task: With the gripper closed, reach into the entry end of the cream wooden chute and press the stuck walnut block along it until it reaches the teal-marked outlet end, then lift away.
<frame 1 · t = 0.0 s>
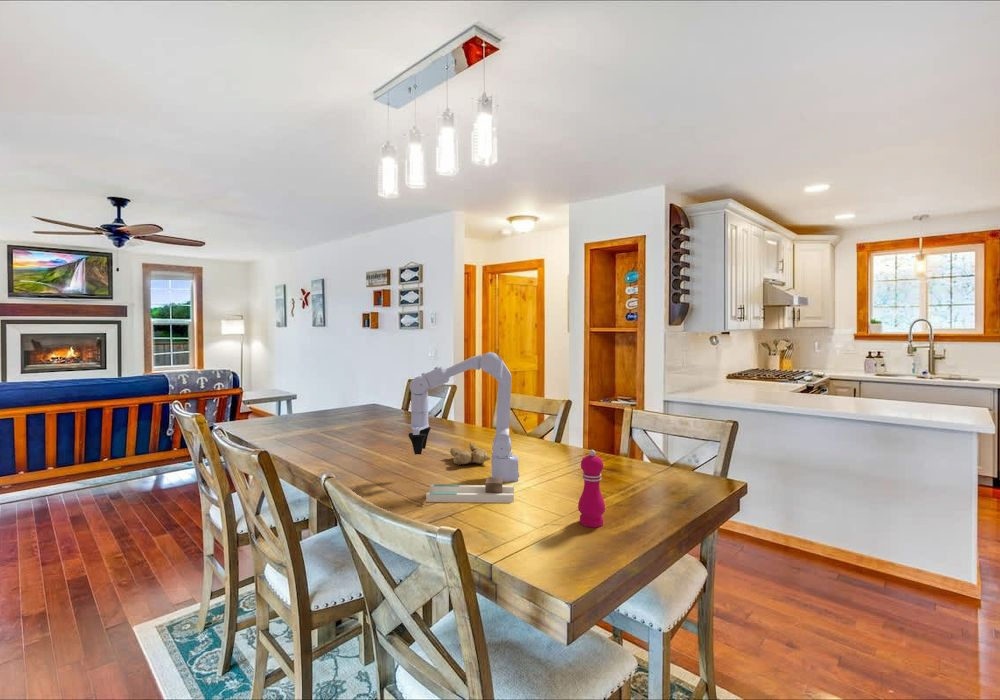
hand: (420, 451, 172), 10 cm above the table, tool pointing down, fingers open, 7 cm apart
ginger root: (469, 463, 194), on the table
walnut block: (494, 488, 154), point 3 cm above the table, slide at 0.0 cm
pepper mill: (591, 523, 136), on the table
chute: (471, 499, 154), on the table
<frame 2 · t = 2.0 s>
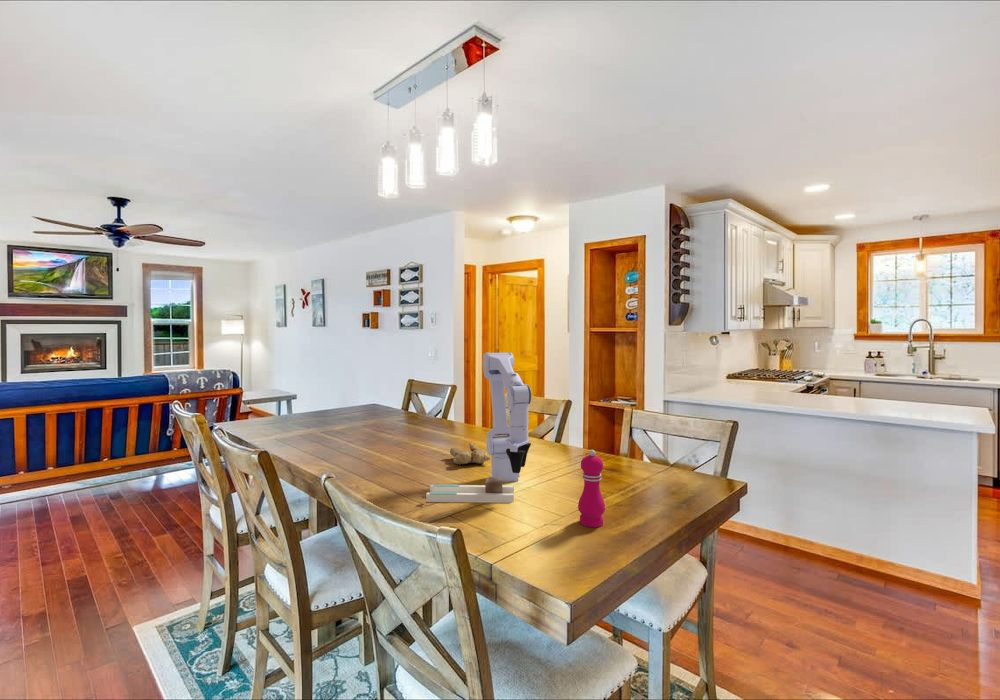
hand: (518, 469, 153), 9 cm above the table, tool pointing down, fingers open, 6 cm apart
nothing on the table moved.
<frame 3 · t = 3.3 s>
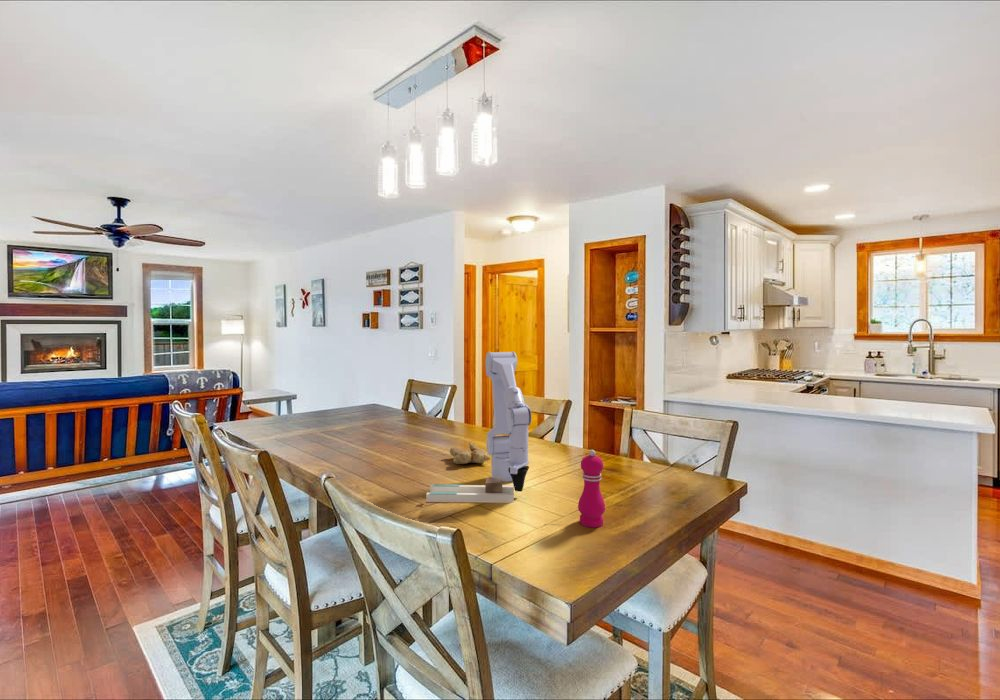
hand: (518, 490, 153), 3 cm above the table, tool pointing down, fingers closed
nothing on the table moved.
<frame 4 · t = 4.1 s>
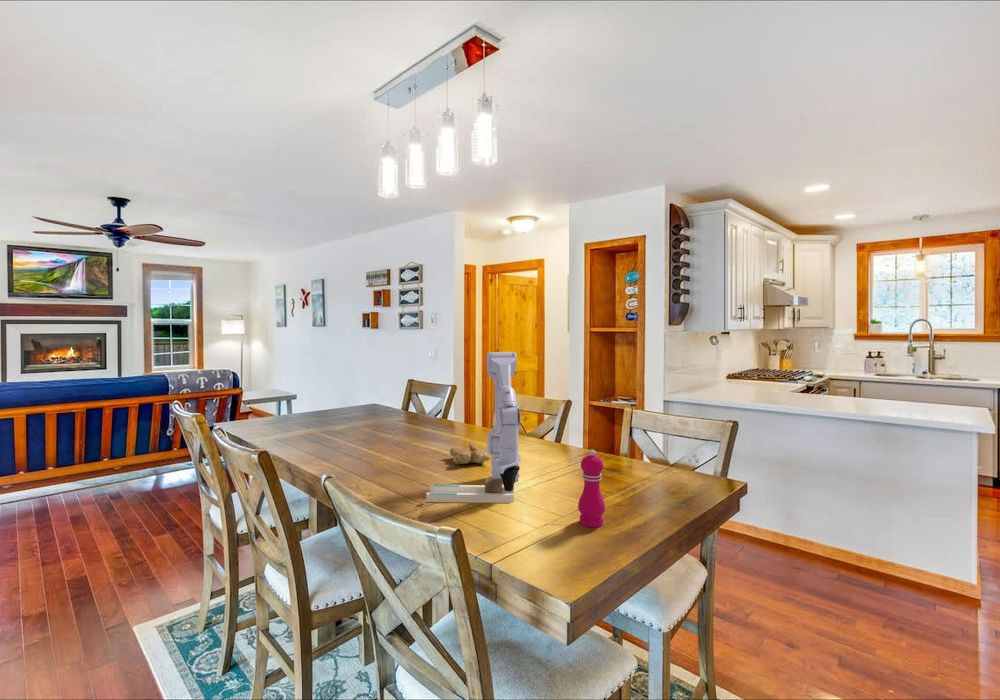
hand: (508, 490, 153), 3 cm above the table, tool pointing down, fingers closed
walnut block: (493, 488, 154), point 3 cm above the table, slide at 0.2 cm, touching gripper
everything else where it was.
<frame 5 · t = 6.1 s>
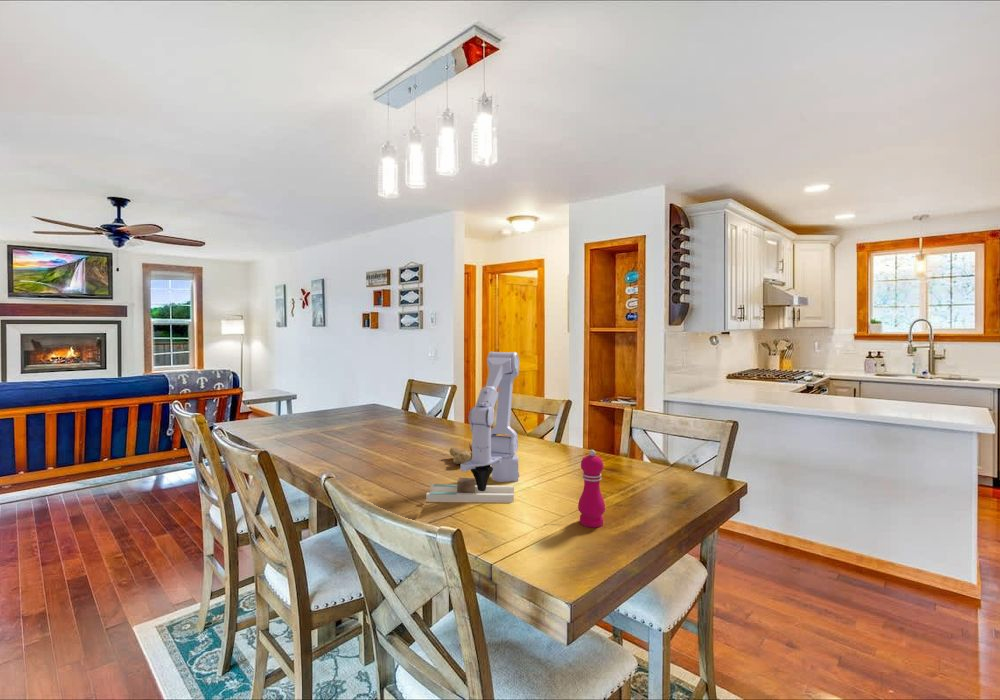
hand: (481, 490, 154), 3 cm above the table, tool pointing down, fingers closed
walnut block: (466, 488, 154), point 3 cm above the table, slide at 8.5 cm, touching gripper
everything else where it was.
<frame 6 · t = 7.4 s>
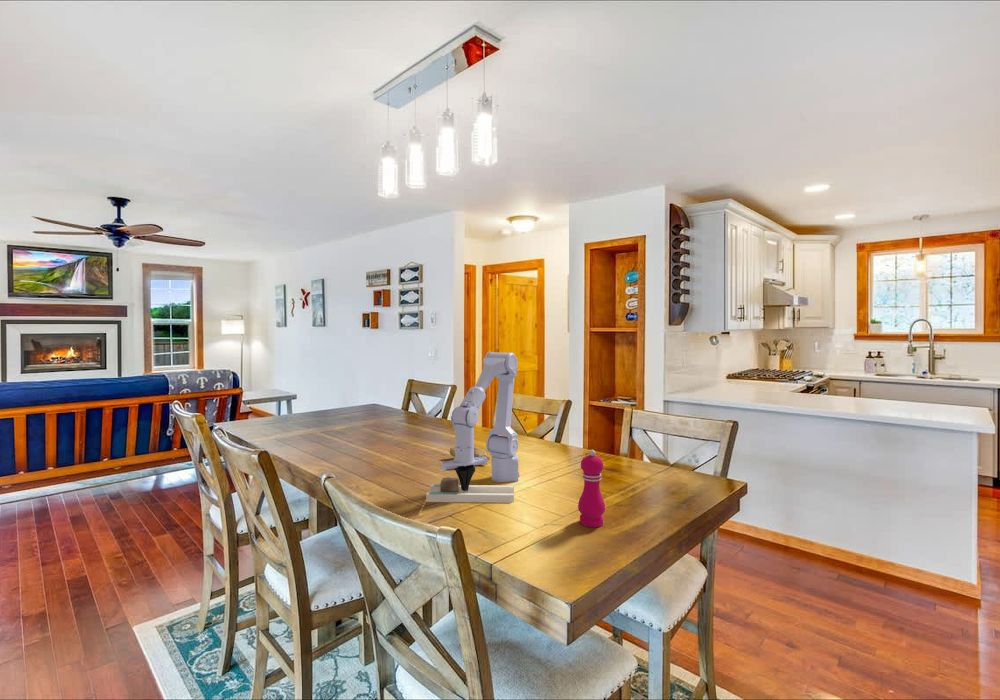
hand: (464, 490, 154), 3 cm above the table, tool pointing down, fingers closed
walnut block: (449, 488, 154), point 3 cm above the table, slide at 13.5 cm, touching gripper
everything else where it was.
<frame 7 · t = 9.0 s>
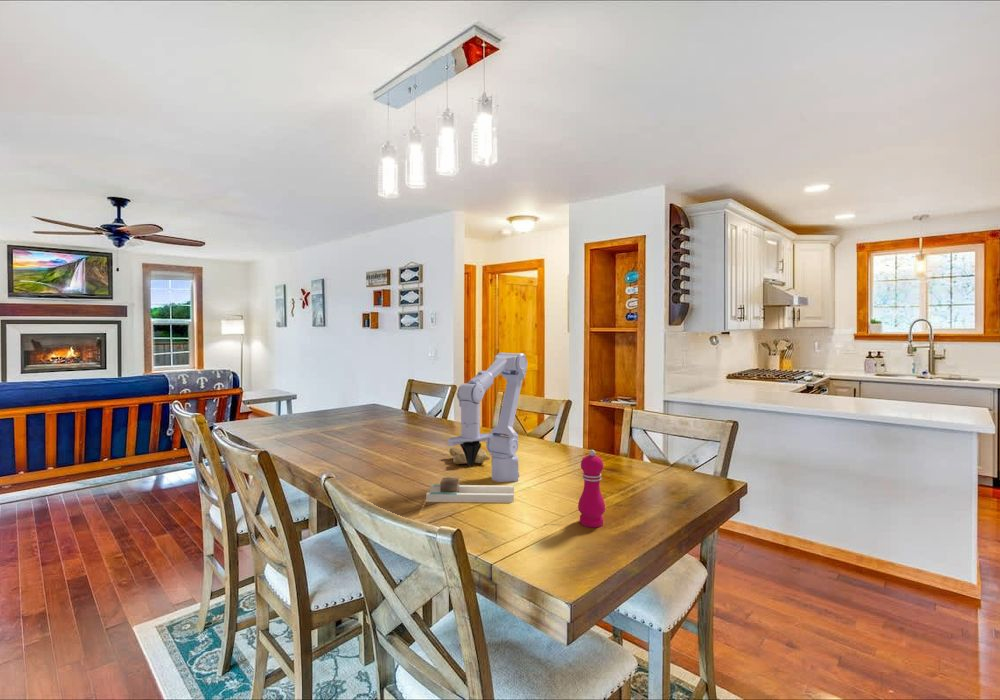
hand: (470, 465, 156), 10 cm above the table, tool pointing down, fingers closed
walnut block: (449, 488, 154), point 3 cm above the table, slide at 13.6 cm
everything else where it was.
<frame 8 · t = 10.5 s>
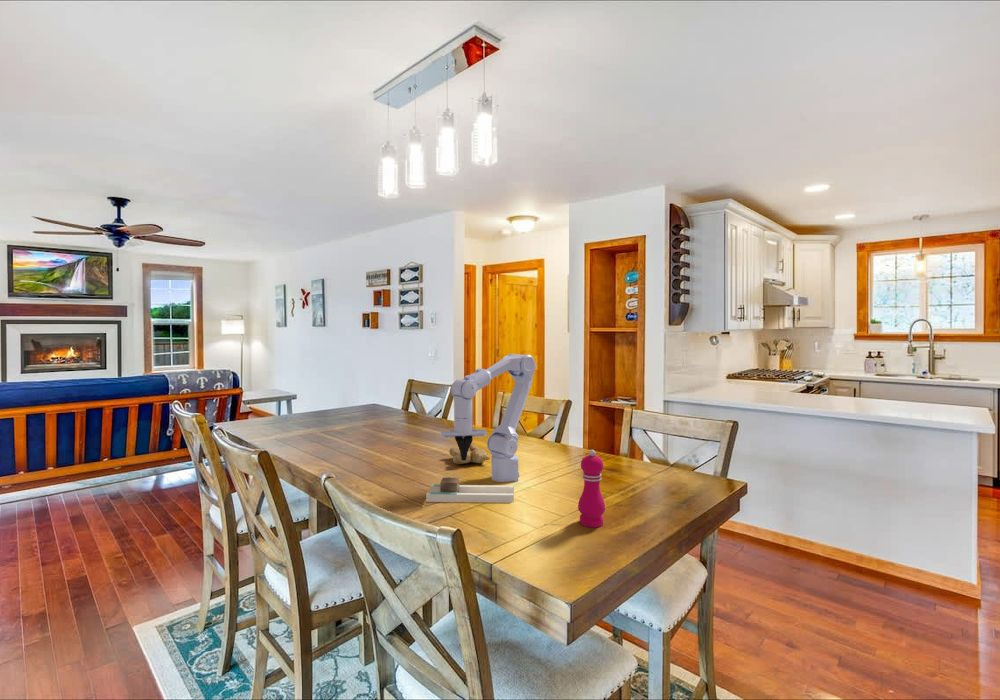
hand: (463, 459, 160), 10 cm above the table, tool pointing down, fingers closed
nothing on the table moved.
at the end: walnut block slide at 13.6 cm; pepper mill moved 0.2 cm from its start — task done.
